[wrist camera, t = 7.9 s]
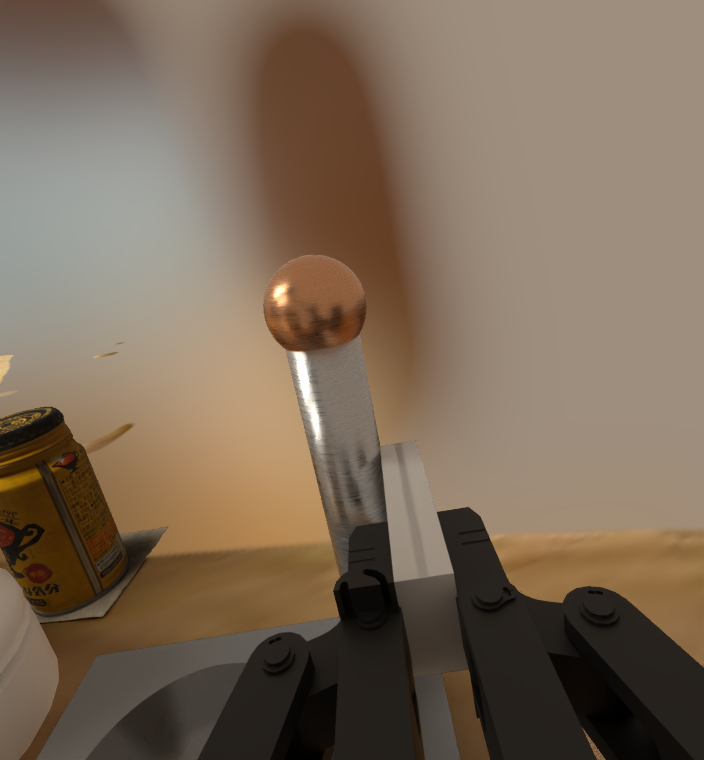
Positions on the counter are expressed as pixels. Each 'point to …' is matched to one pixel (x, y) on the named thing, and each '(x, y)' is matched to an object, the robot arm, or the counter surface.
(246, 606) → the counter surface
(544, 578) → the counter surface
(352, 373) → the ball top joystick
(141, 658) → the stand
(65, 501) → the condiment
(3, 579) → the honey pot
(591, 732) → the robot arm
